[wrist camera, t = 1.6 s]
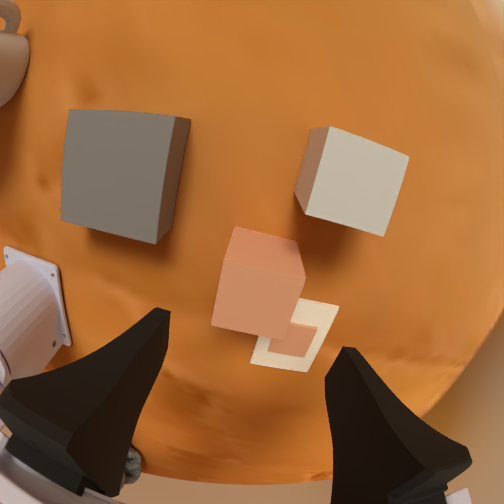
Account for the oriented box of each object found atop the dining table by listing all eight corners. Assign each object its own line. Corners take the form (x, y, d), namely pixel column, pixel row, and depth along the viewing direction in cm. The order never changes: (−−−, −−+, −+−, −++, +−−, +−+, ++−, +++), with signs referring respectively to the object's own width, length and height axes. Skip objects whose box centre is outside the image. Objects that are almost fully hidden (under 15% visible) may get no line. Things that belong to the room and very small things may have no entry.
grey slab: (171, 227, 18) (155, 244, 15) (85, 207, 17) (61, 220, 15) (191, 119, 15) (175, 116, 12) (95, 110, 15) (69, 109, 12)
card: (306, 369, 22) (307, 374, 22) (249, 360, 22) (249, 365, 22) (338, 305, 20) (340, 310, 19) (272, 292, 19) (272, 296, 19)
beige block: (353, 209, 17) (383, 236, 12) (294, 192, 17) (304, 214, 12) (371, 149, 15) (409, 157, 11) (310, 129, 15) (329, 126, 10)
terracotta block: (279, 292, 19) (282, 340, 15) (223, 280, 19) (210, 325, 15) (296, 240, 18) (306, 278, 13) (234, 226, 18) (223, 259, 13)
